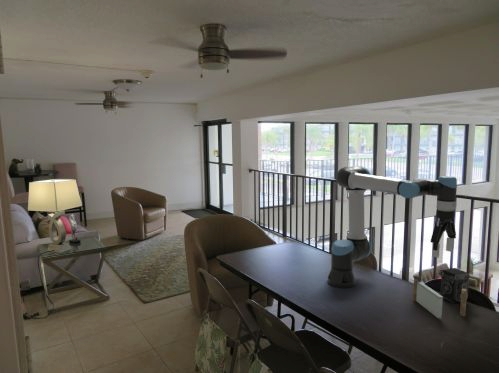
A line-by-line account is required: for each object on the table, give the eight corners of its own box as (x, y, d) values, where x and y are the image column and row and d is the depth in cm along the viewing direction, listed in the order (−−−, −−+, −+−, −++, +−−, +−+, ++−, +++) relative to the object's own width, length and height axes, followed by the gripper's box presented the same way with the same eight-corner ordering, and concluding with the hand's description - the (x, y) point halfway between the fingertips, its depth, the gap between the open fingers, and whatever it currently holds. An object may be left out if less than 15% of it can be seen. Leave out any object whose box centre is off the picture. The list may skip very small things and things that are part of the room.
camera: (455, 306, 167) (457, 276, 165) (438, 297, 177) (439, 268, 175) (472, 303, 169) (475, 274, 167) (454, 294, 179) (456, 266, 178)
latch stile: (459, 315, 159) (461, 289, 157) (461, 313, 160) (463, 288, 159) (464, 316, 157) (466, 291, 156) (465, 314, 159) (467, 289, 158)
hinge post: (410, 300, 173) (412, 276, 171) (413, 298, 175) (414, 274, 174) (417, 302, 171) (418, 277, 169) (419, 300, 173) (421, 276, 171)
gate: (415, 300, 171) (417, 281, 169) (419, 300, 171) (420, 281, 170) (437, 318, 154) (439, 297, 153) (441, 317, 154) (443, 296, 153)
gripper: (441, 214, 151) (438, 261, 154) (466, 207, 166) (462, 250, 169) (424, 211, 157) (421, 257, 160) (449, 205, 172) (446, 247, 175)
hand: (442, 254), depth 164 cm, fingers open, 13 cm apart
